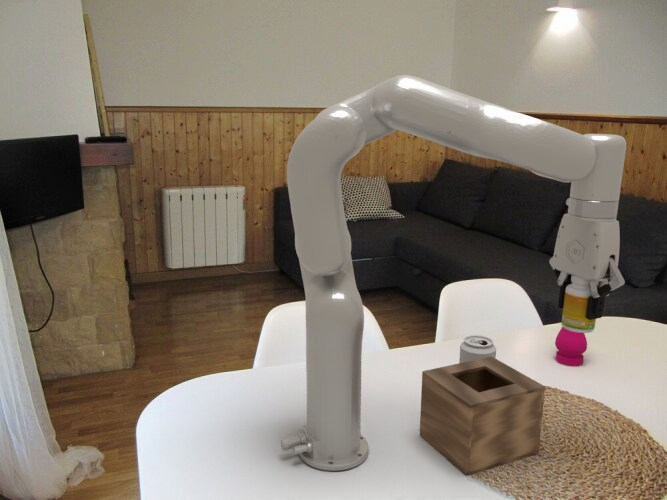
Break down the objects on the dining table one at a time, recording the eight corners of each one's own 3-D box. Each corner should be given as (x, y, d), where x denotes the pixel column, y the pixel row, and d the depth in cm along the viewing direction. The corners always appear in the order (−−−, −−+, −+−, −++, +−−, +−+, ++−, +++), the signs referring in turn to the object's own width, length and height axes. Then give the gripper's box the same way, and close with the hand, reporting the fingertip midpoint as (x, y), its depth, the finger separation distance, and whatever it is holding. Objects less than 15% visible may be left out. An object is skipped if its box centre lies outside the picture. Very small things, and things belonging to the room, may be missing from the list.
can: (493, 400, 124) (497, 347, 121) (457, 397, 126) (460, 344, 123) (491, 385, 131) (495, 334, 129) (457, 381, 133) (460, 331, 130)
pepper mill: (590, 367, 141) (599, 287, 136) (559, 367, 141) (567, 286, 136) (578, 355, 148) (586, 278, 143) (549, 354, 148) (556, 278, 143)
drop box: (466, 475, 99) (470, 405, 96) (419, 435, 111) (422, 371, 108) (538, 453, 105) (545, 386, 102) (487, 416, 118) (491, 356, 115)
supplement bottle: (591, 336, 99) (598, 280, 97) (558, 329, 102) (564, 275, 100) (596, 326, 104) (603, 273, 102) (564, 320, 107) (570, 268, 104)
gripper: (537, 202, 104) (527, 300, 108) (620, 219, 89) (605, 332, 93) (569, 200, 107) (557, 296, 111) (654, 217, 92) (637, 326, 96)
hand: (579, 311), depth 102 cm, fingers closed on supplement bottle, 5 cm apart
